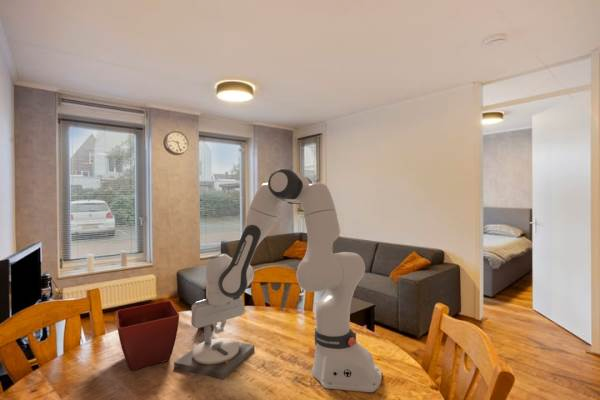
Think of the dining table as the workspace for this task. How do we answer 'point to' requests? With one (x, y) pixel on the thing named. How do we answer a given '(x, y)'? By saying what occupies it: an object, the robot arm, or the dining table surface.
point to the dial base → (214, 369)
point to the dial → (214, 349)
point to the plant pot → (147, 333)
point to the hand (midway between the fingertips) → (219, 332)
